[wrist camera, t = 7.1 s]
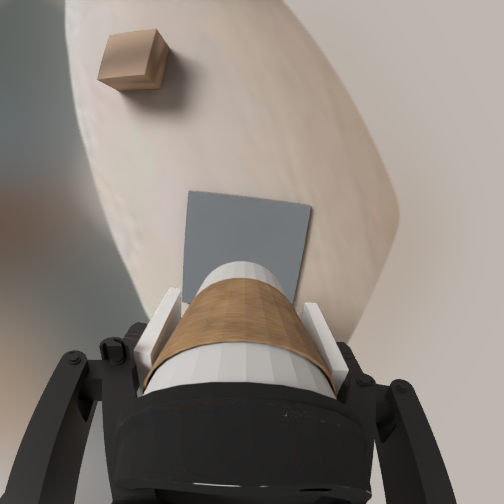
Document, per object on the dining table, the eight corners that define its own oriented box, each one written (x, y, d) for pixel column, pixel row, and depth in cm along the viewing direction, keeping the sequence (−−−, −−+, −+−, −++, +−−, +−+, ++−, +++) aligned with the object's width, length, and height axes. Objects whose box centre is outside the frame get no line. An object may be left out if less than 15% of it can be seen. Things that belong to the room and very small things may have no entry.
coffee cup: (323, 274, 18) (442, 466, 4) (265, 362, 21) (284, 545, 6) (211, 219, 17) (96, 418, 3) (166, 321, 19) (91, 507, 5)
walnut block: (128, 51, 21) (109, 35, 16) (169, 48, 21) (156, 28, 17) (118, 91, 23) (97, 79, 18) (161, 88, 23) (144, 74, 18)
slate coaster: (189, 190, 26) (188, 190, 25) (309, 205, 27) (311, 206, 26) (183, 299, 30) (182, 302, 29) (289, 311, 30) (290, 313, 30)
